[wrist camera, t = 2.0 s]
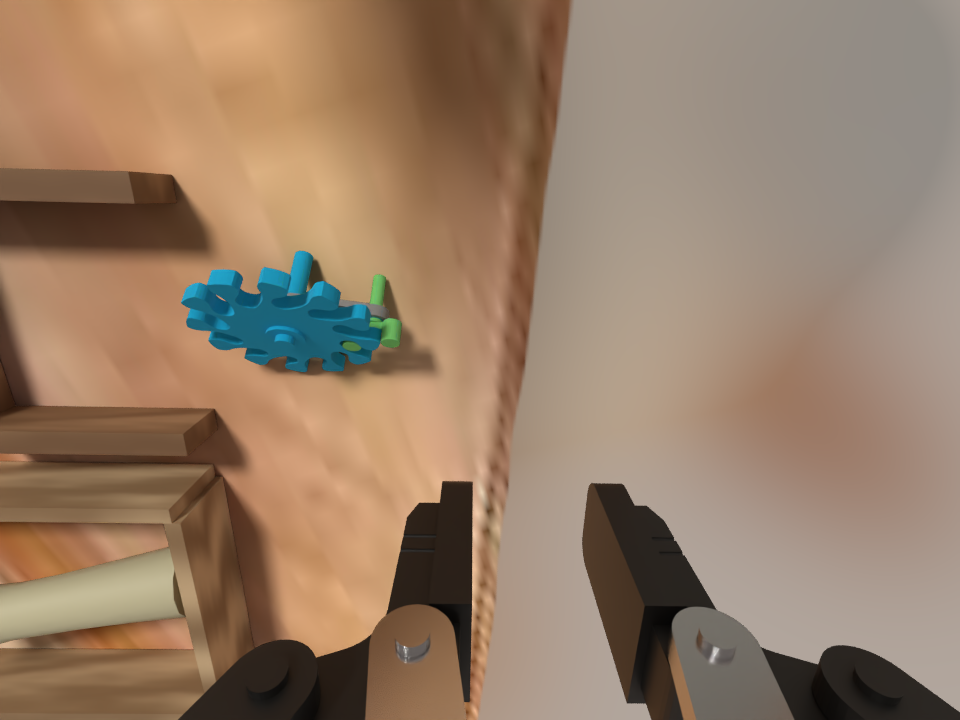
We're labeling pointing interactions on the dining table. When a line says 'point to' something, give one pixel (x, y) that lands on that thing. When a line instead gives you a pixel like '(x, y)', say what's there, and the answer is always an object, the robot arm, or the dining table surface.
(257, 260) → the dining table surface
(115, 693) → the wooden tray
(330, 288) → the gear
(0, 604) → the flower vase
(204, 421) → the cradle
